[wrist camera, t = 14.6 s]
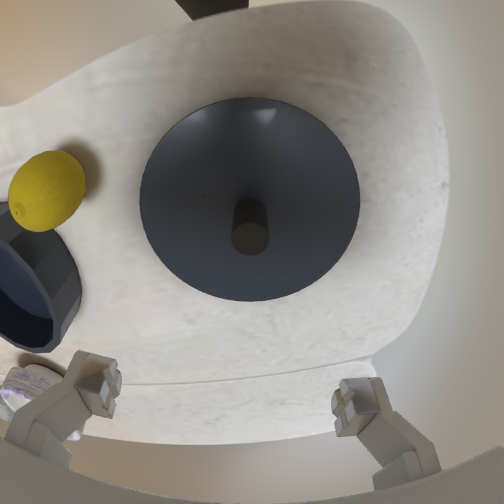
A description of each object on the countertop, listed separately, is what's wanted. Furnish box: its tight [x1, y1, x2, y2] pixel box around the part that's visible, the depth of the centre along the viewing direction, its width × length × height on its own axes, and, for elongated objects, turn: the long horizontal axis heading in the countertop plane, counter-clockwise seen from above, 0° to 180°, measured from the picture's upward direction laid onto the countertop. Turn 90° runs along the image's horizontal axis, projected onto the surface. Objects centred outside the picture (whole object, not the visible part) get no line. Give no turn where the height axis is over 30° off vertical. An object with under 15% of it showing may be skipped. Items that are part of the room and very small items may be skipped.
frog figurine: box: [0, 394, 15, 421], centre depth 41 cm, size 6×7×7 cm
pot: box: [0, 202, 81, 353], centre depth 23 cm, size 16×16×5 cm
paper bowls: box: [0, 364, 86, 440], centre depth 34 cm, size 15×15×8 cm
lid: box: [140, 97, 360, 302], centre depth 21 cm, size 17×17×5 cm
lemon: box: [8, 151, 86, 232], centre depth 17 cm, size 6×6×8 cm
